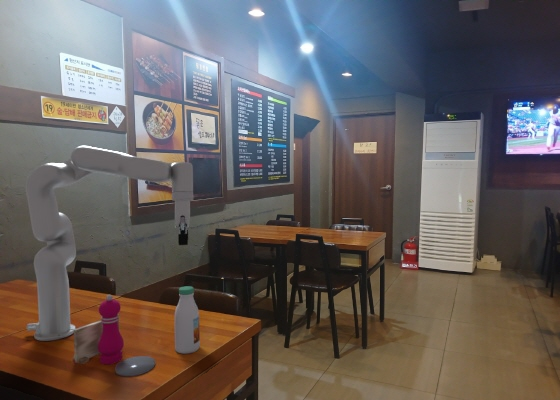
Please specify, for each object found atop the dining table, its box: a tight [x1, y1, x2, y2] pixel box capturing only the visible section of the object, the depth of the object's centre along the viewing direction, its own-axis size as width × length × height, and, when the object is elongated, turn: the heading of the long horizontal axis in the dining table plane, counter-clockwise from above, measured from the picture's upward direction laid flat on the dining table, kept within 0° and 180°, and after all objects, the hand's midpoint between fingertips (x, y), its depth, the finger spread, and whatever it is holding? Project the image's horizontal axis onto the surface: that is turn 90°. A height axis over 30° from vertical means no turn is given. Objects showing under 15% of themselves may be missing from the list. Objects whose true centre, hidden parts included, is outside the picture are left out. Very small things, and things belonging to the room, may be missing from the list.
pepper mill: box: [98, 294, 125, 365], centre depth 117 cm, size 7×7×20 cm
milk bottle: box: [174, 285, 201, 355], centre depth 124 cm, size 8×8×20 cm
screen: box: [72, 319, 120, 365], centre depth 121 cm, size 14×5×10 cm, turn 146°
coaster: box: [114, 355, 156, 377], centre depth 113 cm, size 11×11×1 cm
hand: (183, 242), depth 142 cm, fingers open, 9 cm apart
